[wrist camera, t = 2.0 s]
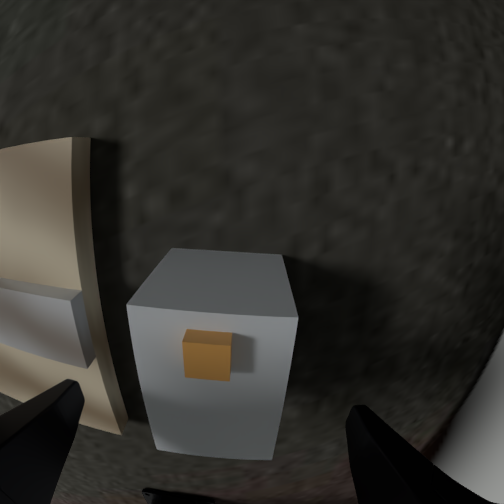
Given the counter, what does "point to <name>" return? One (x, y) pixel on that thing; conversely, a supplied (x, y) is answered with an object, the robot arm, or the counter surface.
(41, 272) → the board
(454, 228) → the counter surface
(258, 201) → the counter surface
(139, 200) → the counter surface
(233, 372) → the block
